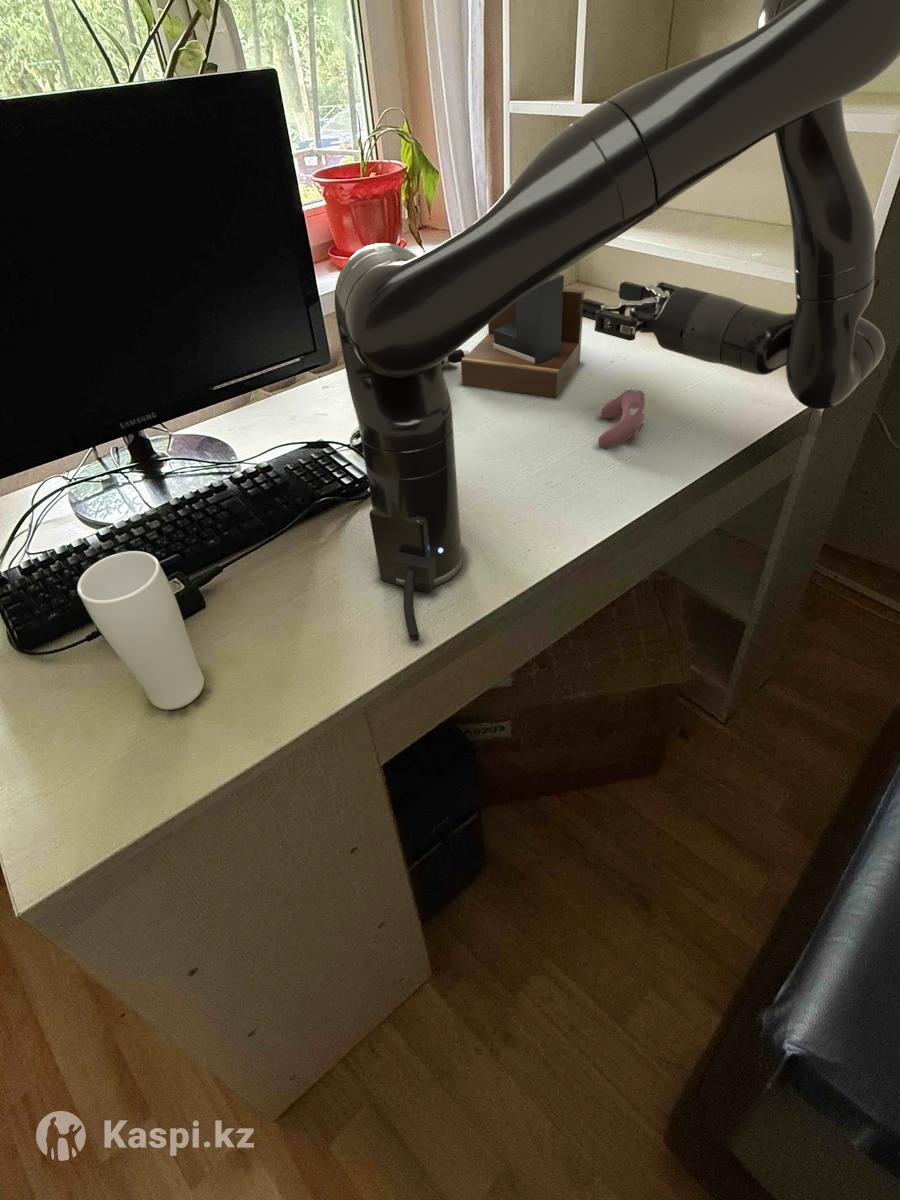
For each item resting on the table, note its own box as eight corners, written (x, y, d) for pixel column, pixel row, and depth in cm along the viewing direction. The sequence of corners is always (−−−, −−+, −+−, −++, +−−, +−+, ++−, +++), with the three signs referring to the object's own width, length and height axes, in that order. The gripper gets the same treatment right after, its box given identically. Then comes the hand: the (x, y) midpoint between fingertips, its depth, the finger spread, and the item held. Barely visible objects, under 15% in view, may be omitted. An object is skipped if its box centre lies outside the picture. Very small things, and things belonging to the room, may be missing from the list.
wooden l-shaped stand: (555, 398, 107) (559, 320, 99) (462, 385, 112) (457, 310, 104) (579, 364, 115) (584, 290, 107) (491, 353, 121) (489, 282, 113)
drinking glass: (128, 700, 66) (58, 585, 56) (182, 656, 70) (126, 540, 60) (173, 729, 63) (108, 613, 53) (227, 681, 67) (176, 565, 57)
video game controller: (623, 460, 95) (653, 420, 90) (595, 446, 94) (623, 405, 90) (624, 425, 102) (652, 386, 97) (598, 412, 101) (624, 372, 97)
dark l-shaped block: (560, 354, 109) (564, 275, 101) (538, 365, 107) (540, 284, 99) (515, 338, 115) (515, 262, 107) (493, 348, 113) (491, 270, 104)
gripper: (742, 279, 86) (636, 255, 95) (675, 312, 79) (568, 283, 89) (729, 338, 91) (630, 310, 100) (665, 374, 84) (565, 340, 94)
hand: (601, 298), depth 94 cm, fingers open, 8 cm apart
